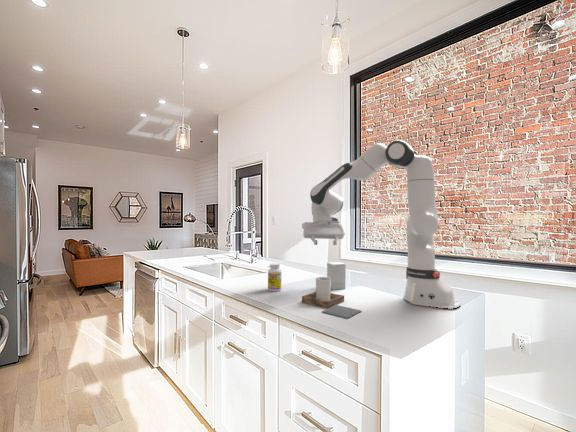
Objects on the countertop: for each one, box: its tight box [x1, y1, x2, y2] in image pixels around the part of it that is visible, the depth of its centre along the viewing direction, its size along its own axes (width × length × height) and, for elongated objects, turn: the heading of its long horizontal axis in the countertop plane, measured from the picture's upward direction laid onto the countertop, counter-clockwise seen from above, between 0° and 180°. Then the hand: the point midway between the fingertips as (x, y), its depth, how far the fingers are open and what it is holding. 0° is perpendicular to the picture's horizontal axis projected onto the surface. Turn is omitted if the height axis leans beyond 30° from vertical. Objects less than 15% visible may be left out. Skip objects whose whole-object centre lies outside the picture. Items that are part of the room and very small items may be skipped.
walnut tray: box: [301, 291, 345, 309], centre depth 131 cm, size 13×13×2 cm
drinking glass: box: [315, 276, 332, 301], centre depth 130 cm, size 7×7×10 cm
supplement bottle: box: [267, 262, 282, 292], centre depth 150 cm, size 7×7×13 cm
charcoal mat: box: [321, 304, 362, 320], centre depth 117 cm, size 11×11×1 cm
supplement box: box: [326, 261, 346, 290], centre depth 156 cm, size 7×7×13 cm
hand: (325, 244), depth 145 cm, fingers open, 8 cm apart
